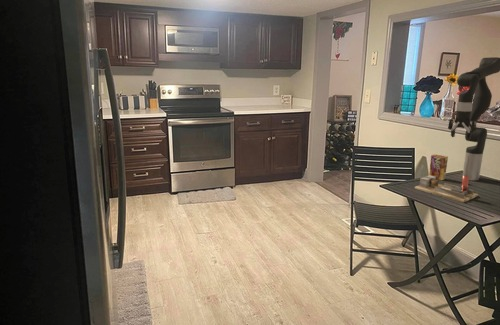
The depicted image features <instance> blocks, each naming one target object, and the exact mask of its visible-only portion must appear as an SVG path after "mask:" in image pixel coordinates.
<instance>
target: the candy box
mask: <svg viewBox="0 0 500 325" xmlns="http://www.w3.org/2000/svg"><path fill="white" fill-rule="evenodd" d="M448 158H449V156H447V155H442V154H435V153H434V154H431V156H430V166H429V173H428V176H429V175H431V176H435V177H436V180H438V181H443V180H444V181H445V180H446V175H447V174H446V173H447V167H448Z"/></svg>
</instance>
